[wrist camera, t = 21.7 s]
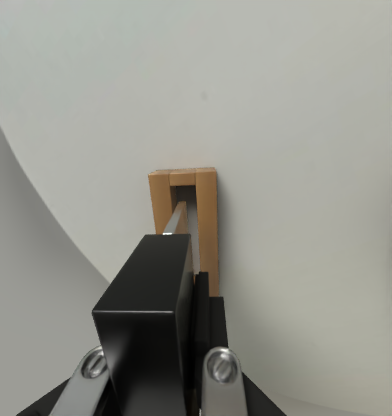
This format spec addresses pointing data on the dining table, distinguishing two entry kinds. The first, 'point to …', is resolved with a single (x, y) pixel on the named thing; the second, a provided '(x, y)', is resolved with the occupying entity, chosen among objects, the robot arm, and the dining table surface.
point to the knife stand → (206, 211)
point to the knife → (152, 325)
